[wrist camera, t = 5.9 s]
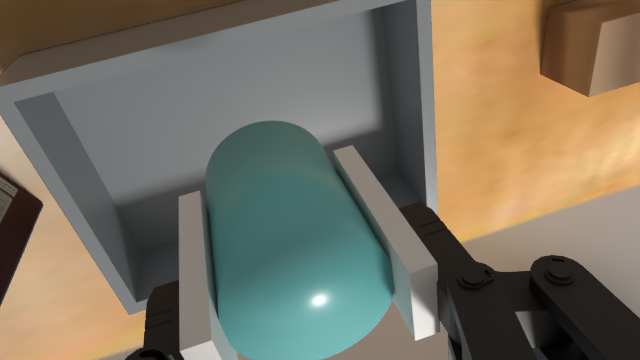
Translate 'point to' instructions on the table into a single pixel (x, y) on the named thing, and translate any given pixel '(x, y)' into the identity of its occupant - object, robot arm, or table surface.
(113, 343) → the table surface
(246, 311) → the teal cylinder
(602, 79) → the walnut cube
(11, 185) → the protein box
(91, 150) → the tote
